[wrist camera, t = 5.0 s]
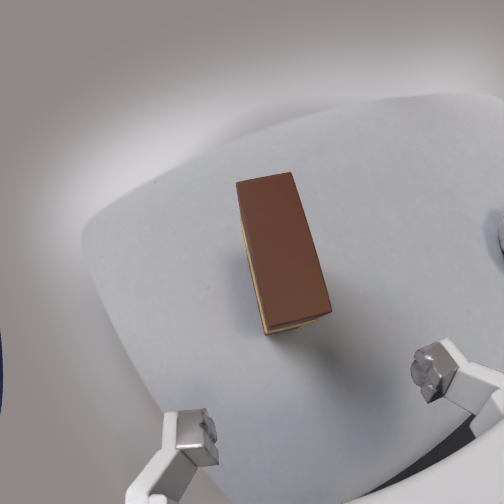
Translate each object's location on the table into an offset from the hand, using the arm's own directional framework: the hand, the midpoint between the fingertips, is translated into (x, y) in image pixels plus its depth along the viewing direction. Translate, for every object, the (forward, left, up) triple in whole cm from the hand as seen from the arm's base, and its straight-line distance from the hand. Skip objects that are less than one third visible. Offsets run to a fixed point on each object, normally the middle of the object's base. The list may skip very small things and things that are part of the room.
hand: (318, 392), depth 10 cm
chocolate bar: (+1, +6, -11) cm, 12 cm away
